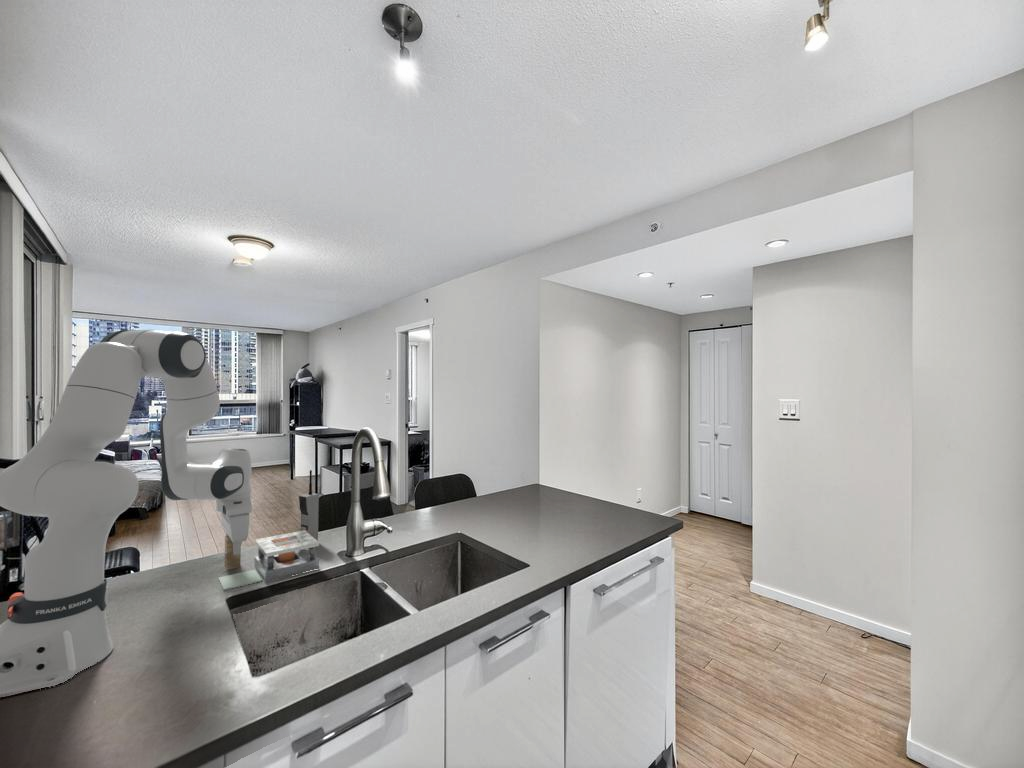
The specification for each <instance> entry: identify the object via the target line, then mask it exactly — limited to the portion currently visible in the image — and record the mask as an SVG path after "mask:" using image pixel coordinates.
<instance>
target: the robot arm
mask: <svg viewBox="0 0 1024 768" xmlns="http://www.w3.org/2000/svg"><path fill="white" fill-rule="evenodd" d="M206 355H207V353H206V350H205V347H204V345H203V344H202V342H201V341H200V339H199V338H197V336H195V335H193V334H190V333H186V332H181V331H167V330H166V331H165V330H157V329H134V330H131V329H123V330H118V331H112V332H111V333H108V334H107V335H105V336H104V337H103V338H102V339H101V340H100V341H99V342H97V343H94V344H92V345H89V347H88V348H87V349H85V351H84V352H83V354H82V355H81V356H80V358H79V360H78V362H77V363H76V365H75V366H74V368H73V370H72V372H71V374H70V376H69V378H68V380H67V383H66V386H65V388H64V391H63V393H62V396H61V399H60V401H59V403H58V405H57V408H56V410H55V413H54V415H53V417H52V419H51V421H50V424H49V425H48V426H47V428H46V430H45V431H44V432H43V434H42V435H41V437H40V438H39V439H38V440H37V441H36V443H35V444H34V445H33V446H32V447H31V448H30V450H29V451H28V452H27V453H26V454H25V455H24V456H22V457H21V459H19V460H18V461H17V462H15V463H13V464H12V465H9V466H8V467H6V468H5V469H3V470H2V471H1V472H0V507H1V508H3V509H5V510H8V511H10V512H13V513H16V514H19V515H22V516H26V517H27V516H28V517H29V516H30V517H40V518H41V517H44V518H48V525H47V528H46V532H45V535H44V536H43V538H42V540H41V542H39V543H37V544H36V545H34V546H33V547H32V548H31V549H30V550H29V551H28V552H27V554H26V556H25V559H24V592H14V593H13V594H11V595H10V596H9V599H8V601H7V611H6V612H7V613H6V614H7V619H6V620H5V621H3V623H1V624H0V695H1V694H5V693H11V692H17V691H25V690H30V689H34V688H39V687H44V686H49V685H54V684H59V683H63V682H64V681H67V680H68V679H70V678H71V677H72V676H74V675H75V674H77V673H78V672H79V673H81V672H83V671H85V670H86V668H87V669H88V667H89V668H90V666H91V667H92V666H94V665H96V664H98V663H99V662H101V661H102V660H104V659H105V658H106V657H108V656H109V654H111V652H112V651H113V649H114V642H113V640H112V637H111V634H110V631H109V627H108V623H107V616H106V608H107V604H108V593H109V592H108V588H109V586H108V581H107V578H105V562H106V561H105V559H106V547H107V541H108V537H109V534H110V532H111V529H112V527H113V525H114V523H115V522H116V520H117V519H118V518H119V516H120V515H121V514H123V513H124V512H126V511H127V510H128V509H129V508H130V507H131V506H132V505H133V503H134V502H135V500H136V499H137V496H138V493H139V487H140V485H139V478H138V477H137V475H136V474H135V472H134V471H132V470H131V469H129V468H127V467H124V466H122V465H118V464H114V463H112V462H108V461H98V460H97V461H96V458H98V456H99V455H100V453H101V452H102V451H103V450H104V449H105V448H106V447H107V446H108V445H110V444H112V443H113V442H115V441H116V440H118V439H120V438H121V437H122V436H123V435H124V433H125V431H126V428H127V425H128V423H129V419H130V416H131V413H132V411H133V407H134V405H135V402H136V397H137V396H138V391H139V387H140V383H141V380H142V379H143V378H145V377H147V378H153V379H156V378H161V379H162V381H163V382H162V383H163V388H164V394H165V398H166V402H167V403H166V404H167V405H166V407H167V408H166V412H164V413H163V414H162V416H161V418H160V421H159V422H160V423H159V441H160V454H161V455H160V456H161V467H162V468H161V469H162V471H161V479H160V488H161V490H162V492H163V494H164V495H165V496H166V498H168V499H170V500H172V501H183V500H184V501H185V500H199V501H200V500H201V501H203V500H206V501H207V500H210V501H211V500H216V503H215V504H216V507H215V508H216V511H217V512H220V513H221V514H220V515H221V526H222V527H223V529H224V531H225V534H226V535H225V536H227V535H228V536H229V537H230V539H231V541H232V542H233V554H234V555H236V554H240V552H241V551H242V544H243V542H246V541H247V539H248V535H249V527H250V514H251V513H252V512H253V506H252V487H251V480H252V475H253V474H252V470H253V468H252V460H251V454H250V452H249V450H247V449H244V448H228V447H227V448H226V447H225V448H223V449H220V451H219V452H218V456H217V458H216V459H215V460H214V461H212V462H210V463H207V464H206V463H194V462H191V461H190V459H188V441H187V434H188V432H189V431H190V430H192V429H195V428H198V427H200V426H202V425H204V424H206V423H208V422H210V421H211V420H213V419H214V417H215V416H216V415H217V414H218V412H219V410H220V405H221V403H220V396H219V395H220V394H219V391H218V387H217V383H216V379H215V375H214V373H213V370H212V368H211V366H210V365H211V364H210V363H209V362H208V359H207V358H206V357H207V356H206ZM97 662H98V663H97ZM84 669H85V670H84ZM82 670H83V671H82ZM80 671H81V672H80ZM79 673H78V674H79ZM78 674H77V675H78ZM75 676H76V675H75ZM75 676H74V677H75ZM71 679H72V678H71ZM71 679H70V680H71ZM67 682H68V681H67ZM63 684H64V683H63Z"/></svg>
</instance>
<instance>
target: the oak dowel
mask: <svg viewBox="0 0 1024 768" xmlns="http://www.w3.org/2000/svg"><path fill="white" fill-rule="evenodd" d="M225 552H226V553H225ZM241 556H242V553H241V552H240V554H236V555H234V554H233V542H232V541H231V539H230V537H229V536H228V535H225V536H224V568H225V570H226V571H228V570H232V569H237V568H240V567H241Z"/></svg>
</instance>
